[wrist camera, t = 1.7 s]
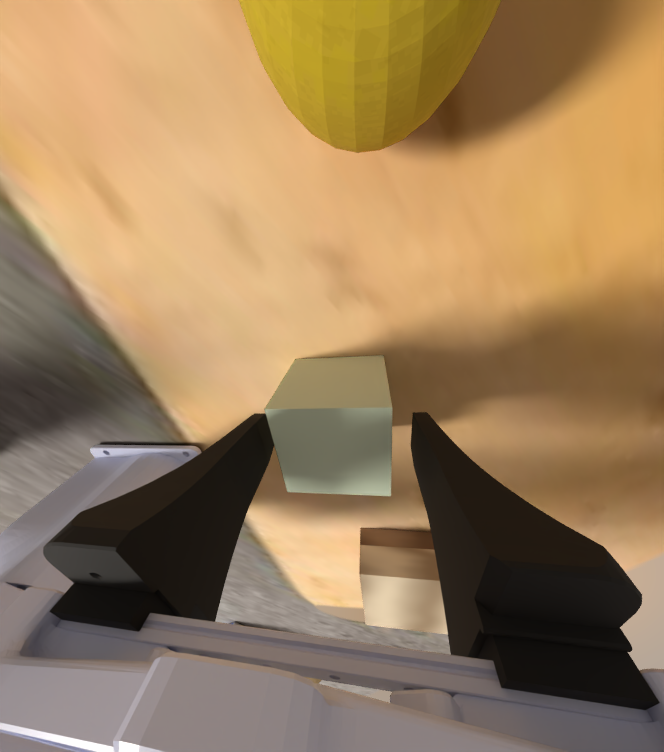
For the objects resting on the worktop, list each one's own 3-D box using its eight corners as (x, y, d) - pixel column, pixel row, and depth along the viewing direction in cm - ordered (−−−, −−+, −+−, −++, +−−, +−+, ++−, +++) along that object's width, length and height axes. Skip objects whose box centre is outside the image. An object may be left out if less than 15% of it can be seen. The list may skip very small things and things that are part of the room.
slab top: (365, 596, 24) (365, 624, 22) (360, 544, 20) (359, 574, 18) (464, 606, 22) (473, 637, 21) (481, 552, 18) (493, 585, 16)
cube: (308, 426, 16) (287, 491, 12) (295, 358, 14) (264, 409, 10) (383, 426, 16) (390, 496, 11) (383, 354, 13) (392, 407, 9)
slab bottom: (364, 573, 26) (364, 597, 24) (360, 521, 22) (360, 545, 20) (456, 581, 24) (463, 607, 23) (470, 527, 20) (480, 554, 18)
